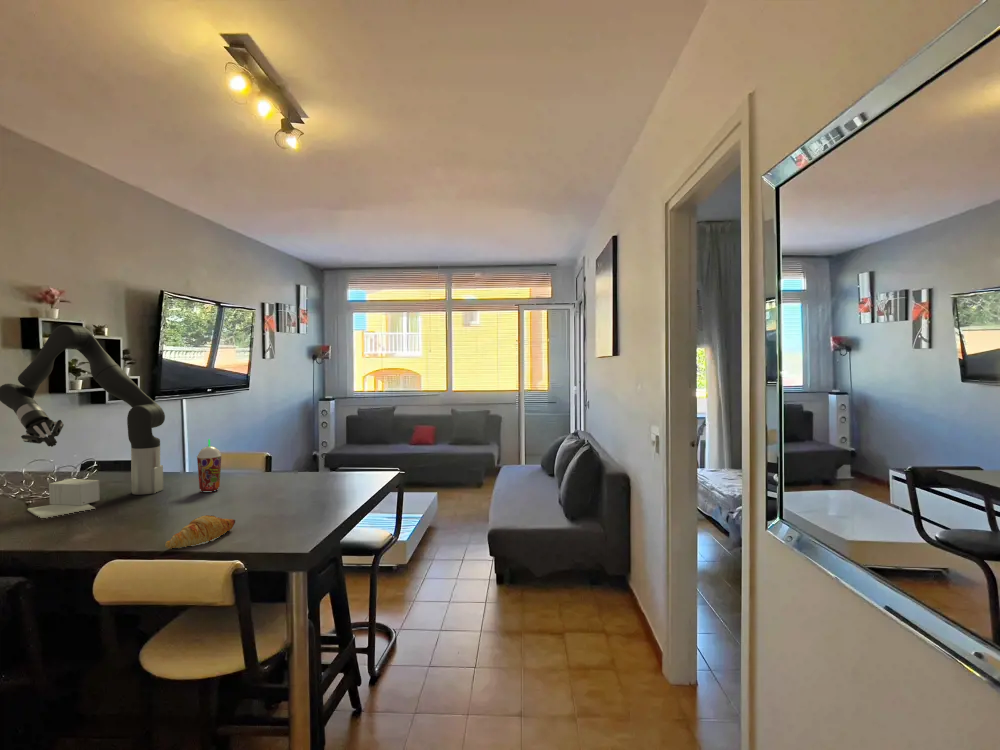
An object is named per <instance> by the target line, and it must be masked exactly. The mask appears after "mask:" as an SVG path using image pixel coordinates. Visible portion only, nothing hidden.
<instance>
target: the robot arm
mask: <svg viewBox="0 0 1000 750" xmlns="http://www.w3.org/2000/svg"><path fill="white" fill-rule="evenodd" d="M66 350H75V351H76V350H77V351H78V352H79V353H81V355H82V356H83V357H84V358H85V359H86V360H87V361H88V363H89V369H90V374H91V376H92V378H93V380H94V381H95V382H96V384H97V383H98V385H99V386H100V387H101V388H102V389H103V390H104V391H105V392H106V393H108V394H110V395H111V396H113V397H116V399H119V400H121V401H122V402H125V403H126V404H127V405H129V406H130V407H131V408H130V409H129V411H128V413H127V416H126V417H127V419H126V424H127V437H128V441H129V443H130V457H131V459H130V461H131V462H130V464H131V466H130V467H131V469H130V471H131V472H130V473H131V474H130V475H131V494H132V495H141V496H142V495H150V494H157V493H159V492H160V491H163V490H164V466H163V465H162V464H161V440H160V438H159V437H156V436H154V434H153V429H155V428H158V427H160V426H162V425H163V424H164V422H165V419H166V415H165V412H164V410H163V408H162V407H161V406H160V405H159V404H158V403H157V402H155V400H153V399H152V398H151V397H150V396H149V395H147V394H146V393H145V392H144V391H143V390H142V388H140V387H139V386H138V384H136V383H135V381H133V380H132V379H131V377H130V376H129V375H128V374H127V373H126V371H124V369H123V368H121V366H120V365H119V364H118V363H116V362H115V360H114V359H113V358H112V357H111V356H110V355H109V354H108V352H106V350H104V348H103V347H102V346H101V344H100V343H99V341H98V340H97V339H96V338H95V335H93V333H92V332H91V331H90V330H89V329H88V328H86V327H85V326H82V325H73V324H61V325H58V326H57V327H55V328H54V330H52V332H51V333H50V335H49V336H48V338H47V340H46V341H45V343H44V344H43V346H42V348H41V349H40V350H39V352H38V354H37V355H36V356H35V358H34V359H33V360H32V361H31V362H30V363H29V364H28V365H27V367H26V368H25V369H24V370H22V372H21V373H20V374H19V375H18V377H17V381H18V383H19V384H20V385H19V384H15V383H14V384H13V383H3V384H2V385H0V402H1V403H2V404H3V405H4V406H5V407H7V408H9V409H10V410H13V412H14V414H15V415H16V416H17V418H18V421H19V422H20V423H21V424H22V426H23V427H24V429H25V430H26V431H25V434H22V435H21V436H20V438H21V439H22V441H23V442H24V443H29V444H42V443H45V444H46V445H47V447H51V448H52V447H55V446H56V445H57V443H58V441H57V440H56V438H55V437H59V435H60V434H61V431H62V429H63V428H64V423H63V421H62V420H61V419H58V420H57V421H54V420H53V419H50V416H48V415H47V413H46V412H45V410H44V409H43V408H42V407H41V406H40V405H39V404H38V403H37V401H36V400H35V399H34V398H35V396H36V393H37V391H38V390H39V387H40V386H41V384H43V382H44V381H45V380H46V379H47V378H48V377H49V376H50V375H51V373H52V371H53V369H54V364H55V361H56V358H57V357H58V356H59V355H60V354H61V353H63V352H64V351H66ZM156 492H157V493H156Z"/></svg>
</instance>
